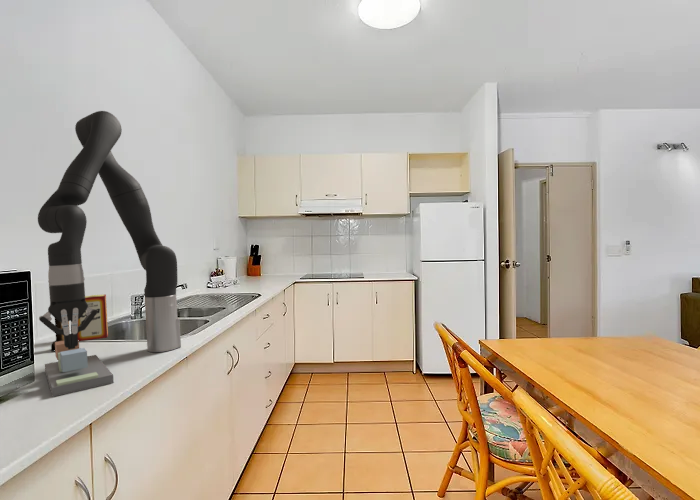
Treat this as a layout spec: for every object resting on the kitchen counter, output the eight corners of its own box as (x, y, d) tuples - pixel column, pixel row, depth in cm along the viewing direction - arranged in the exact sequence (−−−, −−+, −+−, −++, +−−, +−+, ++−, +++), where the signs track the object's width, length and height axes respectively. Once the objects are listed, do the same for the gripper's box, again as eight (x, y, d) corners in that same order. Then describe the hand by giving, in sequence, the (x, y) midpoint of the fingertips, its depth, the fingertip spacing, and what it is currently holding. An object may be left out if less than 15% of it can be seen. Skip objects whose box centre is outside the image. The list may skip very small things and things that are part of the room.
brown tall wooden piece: (72, 345, 140) (69, 294, 140) (78, 347, 136) (75, 294, 135) (48, 349, 135) (45, 296, 134) (54, 352, 131) (51, 297, 130)
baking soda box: (76, 341, 146) (74, 297, 146) (78, 338, 152) (76, 295, 151) (107, 337, 150) (104, 295, 150) (108, 334, 156) (105, 293, 156)
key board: (96, 361, 118) (95, 352, 118) (113, 382, 98) (112, 372, 98) (44, 371, 110) (44, 361, 110) (52, 396, 90) (51, 385, 90)
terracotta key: (77, 352, 114) (76, 338, 114) (79, 355, 110) (78, 341, 110) (55, 356, 111) (54, 341, 111) (57, 359, 107) (56, 345, 107)
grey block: (84, 363, 103) (84, 347, 103) (87, 367, 99) (86, 351, 99) (60, 367, 100) (60, 351, 99) (63, 372, 96) (62, 355, 96)
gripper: (94, 279, 112) (98, 341, 112) (33, 284, 103) (38, 351, 103) (99, 280, 106) (103, 345, 106) (35, 286, 97) (40, 357, 98)
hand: (71, 348), depth 105 cm, fingers closed
